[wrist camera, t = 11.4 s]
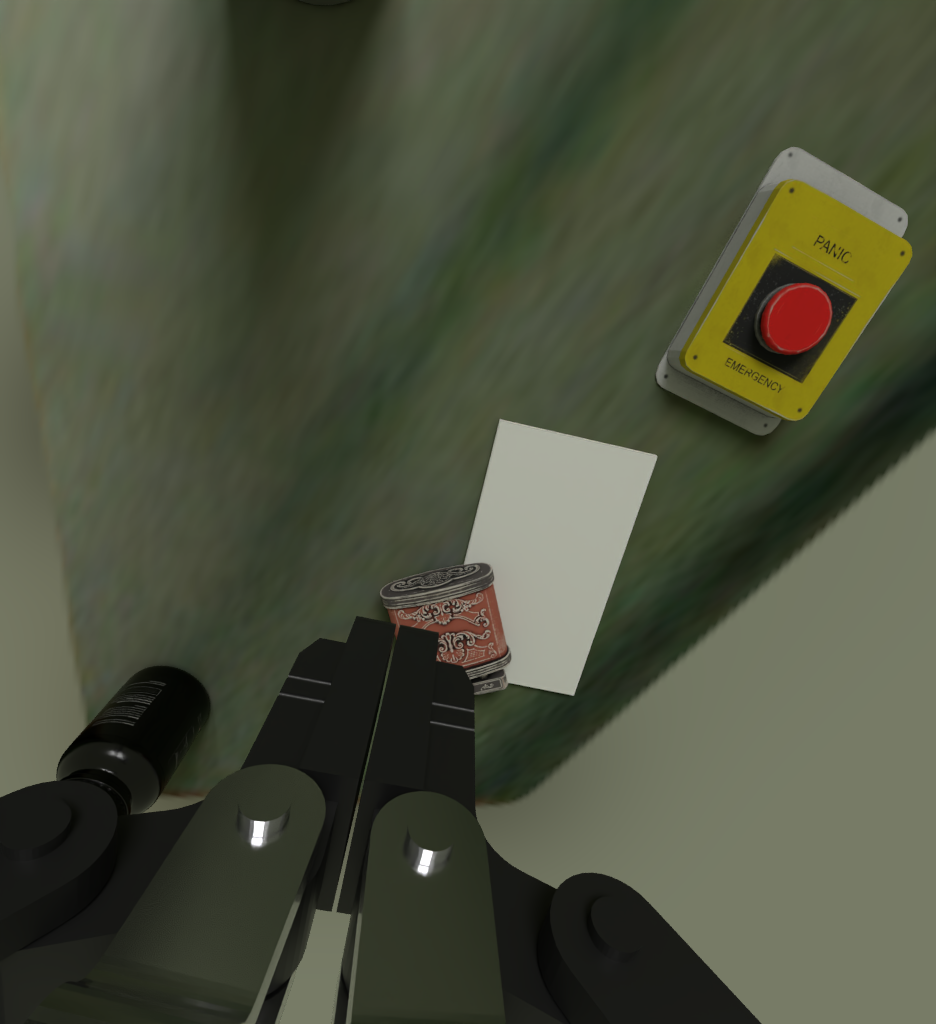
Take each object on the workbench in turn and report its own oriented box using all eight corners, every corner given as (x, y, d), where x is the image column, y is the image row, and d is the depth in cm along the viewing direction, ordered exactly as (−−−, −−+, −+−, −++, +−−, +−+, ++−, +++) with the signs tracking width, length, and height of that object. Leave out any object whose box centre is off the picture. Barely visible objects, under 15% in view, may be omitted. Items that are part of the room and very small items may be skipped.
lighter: (381, 581, 41) (414, 693, 44) (378, 603, 38) (413, 722, 41) (489, 557, 41) (514, 671, 44) (494, 577, 38) (521, 698, 41)
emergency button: (668, 389, 33) (825, 118, 29) (646, 380, 37) (780, 142, 33) (797, 454, 35) (968, 205, 30) (763, 438, 39) (907, 217, 34)
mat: (438, 665, 44) (438, 669, 44) (499, 418, 38) (499, 420, 37) (572, 691, 45) (573, 695, 45) (655, 454, 38) (657, 456, 38)
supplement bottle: (116, 709, 46) (1, 839, 35) (145, 648, 44) (32, 765, 33) (195, 744, 47) (108, 881, 36) (226, 686, 45) (145, 811, 34)
